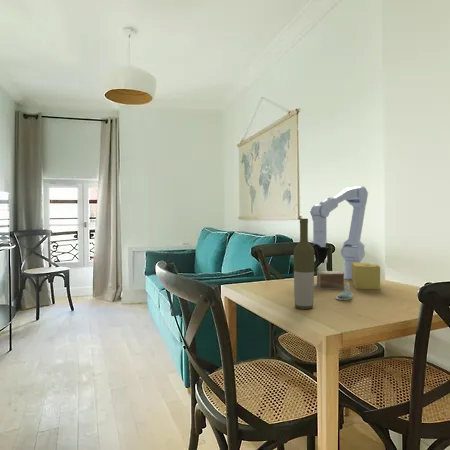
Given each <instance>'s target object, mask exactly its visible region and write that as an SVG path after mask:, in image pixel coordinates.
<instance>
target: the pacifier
mask: <svg viewBox="0 0 450 450" xmlns="http://www.w3.org/2000/svg"><path fill="white" fill-rule="evenodd" d="M345 285H346V287H345V289H344V291H341V292H340V293H339V294H337V295H336V296H335V297H334V298H335V300H338V301H349V300H350V299H352V298H353V296H354V295H353V292H352V291H350V289H351V284H350V283H349V282H346V283H345ZM349 288H350V289H349Z"/></svg>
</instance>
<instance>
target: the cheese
mask: <svg viewBox="0 0 450 450" xmlns="http://www.w3.org/2000/svg"><path fill="white" fill-rule="evenodd" d="M351 271H352V279H351V280H352V285H353V287H354V289H356V290H357V289H358V290H359V289H360V290H364V289H365V290H381V266H380V265H379V264H376V263H375V264H373V263H366V262H361V263H359V262H352V269H351Z"/></svg>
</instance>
